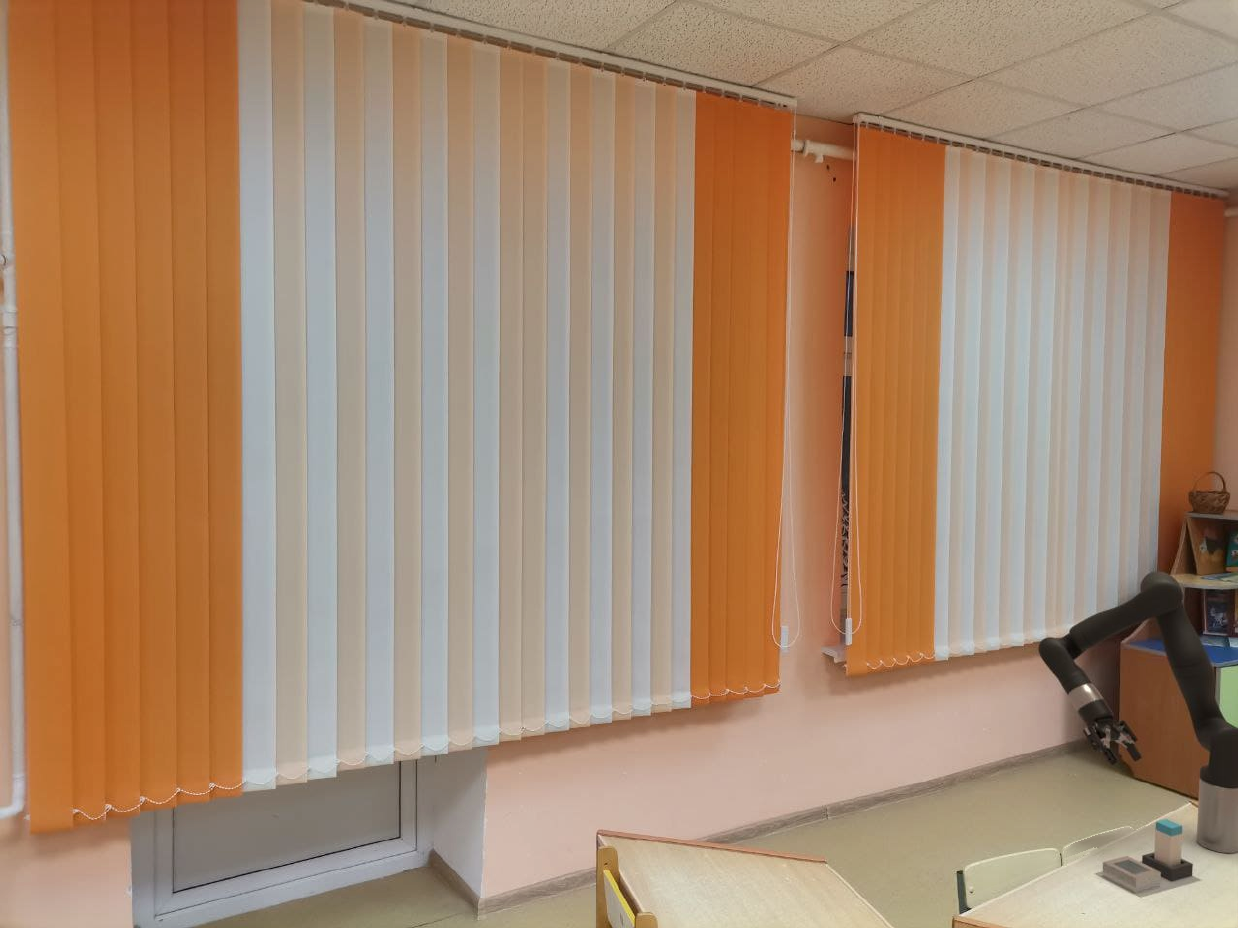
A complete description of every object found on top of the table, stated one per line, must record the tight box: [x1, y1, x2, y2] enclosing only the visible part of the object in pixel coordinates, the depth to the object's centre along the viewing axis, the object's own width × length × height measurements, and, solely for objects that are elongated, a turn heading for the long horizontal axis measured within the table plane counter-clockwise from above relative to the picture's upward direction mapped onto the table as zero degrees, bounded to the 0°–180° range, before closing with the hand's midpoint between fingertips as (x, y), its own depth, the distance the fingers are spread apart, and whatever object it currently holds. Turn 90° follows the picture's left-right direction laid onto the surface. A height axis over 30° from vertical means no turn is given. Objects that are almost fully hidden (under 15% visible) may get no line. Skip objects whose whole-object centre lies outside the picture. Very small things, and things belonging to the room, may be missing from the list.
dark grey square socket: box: [1141, 851, 1194, 882], centre depth 218 cm, size 8×8×3 cm
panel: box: [1094, 860, 1202, 899], centre depth 215 cm, size 22×12×1 cm, turn 114°
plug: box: [1153, 818, 1183, 867], centre depth 218 cm, size 4×4×12 cm
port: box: [1102, 855, 1161, 893], centre depth 213 cm, size 9×9×4 cm
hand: (1127, 761), depth 228 cm, fingers open, 8 cm apart
